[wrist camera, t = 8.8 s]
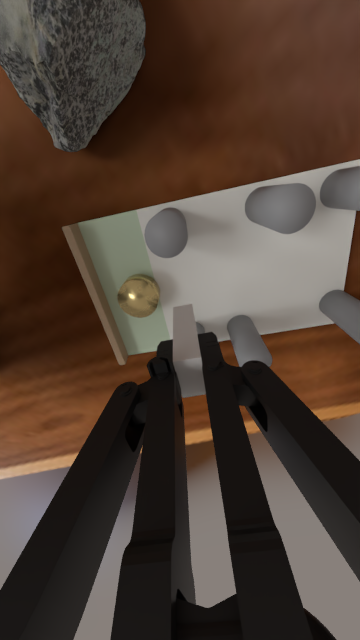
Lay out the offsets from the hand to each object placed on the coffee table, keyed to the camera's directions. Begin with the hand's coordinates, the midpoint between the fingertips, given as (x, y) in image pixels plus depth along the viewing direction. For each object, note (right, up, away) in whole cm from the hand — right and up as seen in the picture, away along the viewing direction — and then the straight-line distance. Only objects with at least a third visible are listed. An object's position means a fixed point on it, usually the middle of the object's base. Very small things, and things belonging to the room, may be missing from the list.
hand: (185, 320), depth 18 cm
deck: (+4, +5, +9) cm, 11 cm away
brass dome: (-5, +3, +8) cm, 10 cm away
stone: (-8, +21, 0) cm, 22 cm away
